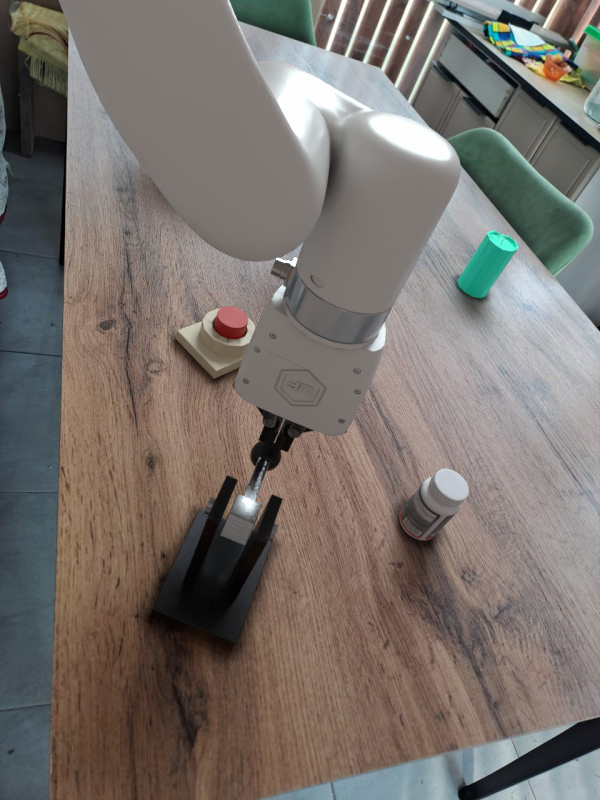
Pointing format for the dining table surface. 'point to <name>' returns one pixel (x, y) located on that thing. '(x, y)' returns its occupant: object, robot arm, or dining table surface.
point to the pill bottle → (433, 504)
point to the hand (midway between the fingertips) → (272, 447)
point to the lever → (248, 499)
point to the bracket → (216, 572)
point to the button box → (214, 345)
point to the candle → (487, 264)
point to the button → (230, 322)
